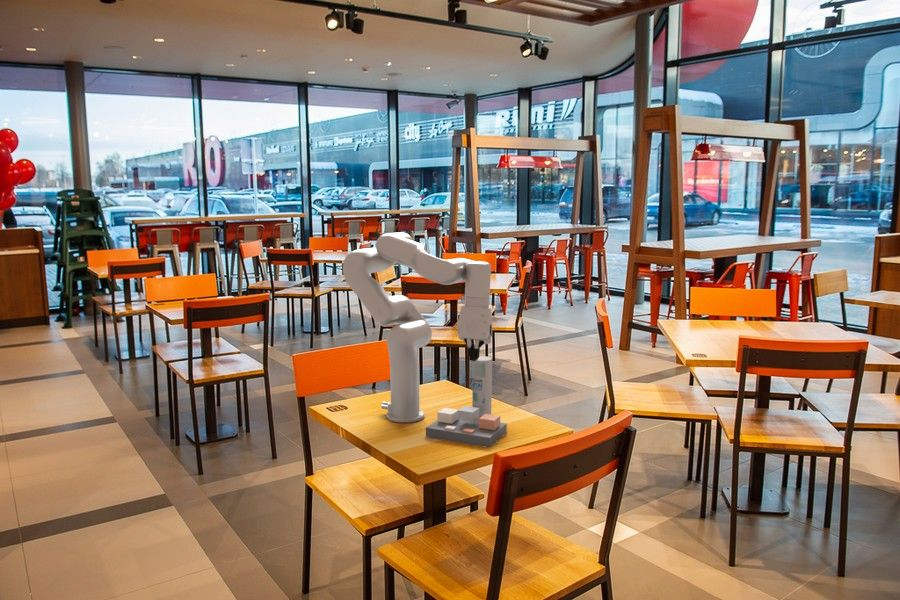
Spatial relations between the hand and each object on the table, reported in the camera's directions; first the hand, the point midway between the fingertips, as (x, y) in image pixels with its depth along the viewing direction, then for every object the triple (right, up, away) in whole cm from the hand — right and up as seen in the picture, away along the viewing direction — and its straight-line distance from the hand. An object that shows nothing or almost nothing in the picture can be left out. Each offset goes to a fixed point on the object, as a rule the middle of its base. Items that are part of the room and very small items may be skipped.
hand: (473, 359), depth 214 cm
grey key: (-2, -18, -1) cm, 18 cm away
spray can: (+3, -21, +16) cm, 26 cm away
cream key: (-8, -19, +3) cm, 21 cm away
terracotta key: (+5, -20, -3) cm, 21 cm away
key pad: (-2, -23, -1) cm, 23 cm away
